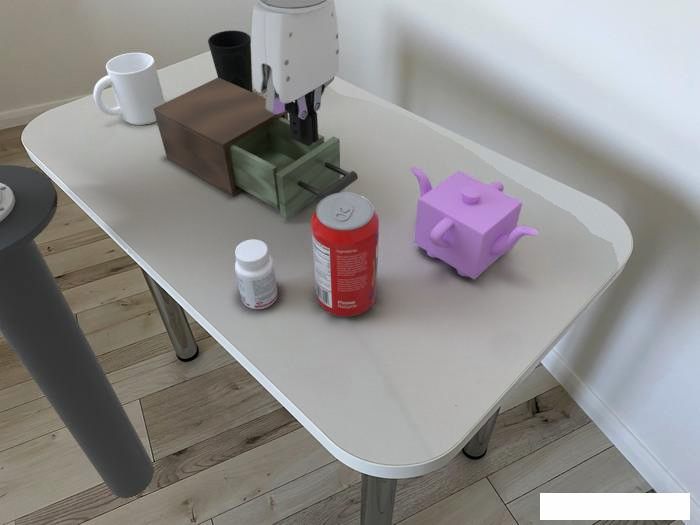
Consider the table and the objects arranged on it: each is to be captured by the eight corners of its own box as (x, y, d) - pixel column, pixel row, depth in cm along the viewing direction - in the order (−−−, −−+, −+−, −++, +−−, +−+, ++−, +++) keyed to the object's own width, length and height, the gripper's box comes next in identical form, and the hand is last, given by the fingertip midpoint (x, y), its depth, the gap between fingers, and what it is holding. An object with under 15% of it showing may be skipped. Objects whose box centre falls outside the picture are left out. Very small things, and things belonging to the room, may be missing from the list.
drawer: (368, 194, 89) (369, 152, 84) (315, 236, 83) (312, 192, 77) (272, 147, 99) (267, 106, 94) (217, 180, 92) (208, 138, 87)
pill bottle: (282, 286, 77) (276, 239, 71) (271, 313, 74) (263, 266, 68) (248, 281, 78) (240, 234, 72) (236, 307, 74) (225, 260, 68)
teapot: (509, 222, 86) (523, 161, 78) (523, 288, 76) (541, 226, 69) (406, 219, 87) (411, 159, 79) (407, 284, 77) (413, 222, 69)
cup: (219, 110, 110) (208, 49, 101) (217, 91, 115) (207, 32, 107) (260, 106, 111) (252, 45, 102) (256, 87, 116) (248, 28, 108)
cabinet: (292, 158, 98) (287, 107, 91) (232, 196, 91) (222, 144, 84) (226, 126, 106) (218, 77, 99) (167, 158, 98) (153, 108, 92)
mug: (110, 137, 103) (92, 84, 96) (96, 117, 108) (78, 65, 101) (173, 117, 108) (160, 65, 101) (158, 99, 113) (144, 48, 106)
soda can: (306, 311, 74) (298, 222, 63) (329, 270, 79) (325, 182, 68) (364, 328, 72) (366, 239, 61) (384, 284, 77) (388, 196, 66)
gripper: (314, -41, 65) (320, 106, 77) (214, -2, 56) (240, 156, 69) (367, -27, 61) (365, 124, 74) (269, 17, 53) (285, 179, 66)
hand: (304, 139), depth 72 cm, fingers closed
